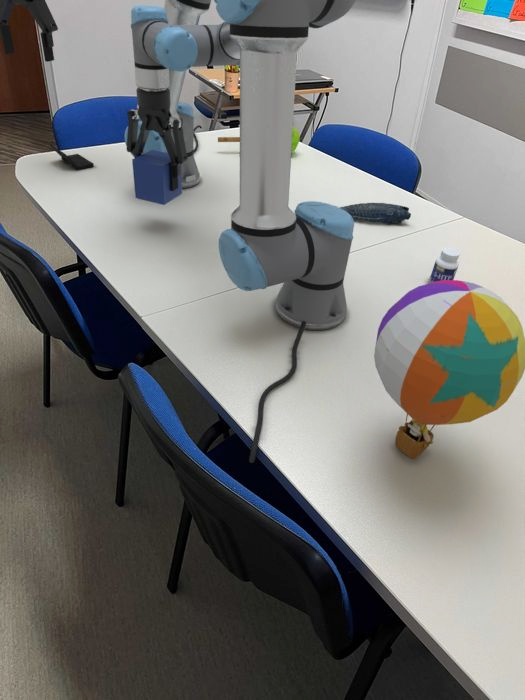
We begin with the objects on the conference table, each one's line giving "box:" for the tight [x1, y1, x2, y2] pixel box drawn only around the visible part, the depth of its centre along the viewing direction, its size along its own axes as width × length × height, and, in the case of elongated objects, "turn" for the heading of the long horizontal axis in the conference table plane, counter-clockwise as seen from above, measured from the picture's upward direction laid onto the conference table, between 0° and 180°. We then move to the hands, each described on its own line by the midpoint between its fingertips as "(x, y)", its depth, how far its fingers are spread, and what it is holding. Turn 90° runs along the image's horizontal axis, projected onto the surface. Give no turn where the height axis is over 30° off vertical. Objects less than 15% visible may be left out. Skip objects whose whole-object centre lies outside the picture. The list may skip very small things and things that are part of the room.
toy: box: [373, 279, 525, 460], centre depth 74 cm, size 20×20×30 cm
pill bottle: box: [428, 247, 461, 284], centre depth 123 cm, size 5×5×9 cm
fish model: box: [339, 202, 412, 225], centre depth 150 cm, size 7×21×5 cm, turn 84°
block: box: [131, 150, 183, 206], centre depth 130 cm, size 8×9×10 cm
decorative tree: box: [217, 126, 301, 153], centre depth 187 cm, size 18×10×30 cm
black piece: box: [49, 143, 95, 171], centre depth 167 cm, size 12×7×10 cm
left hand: (29, 57), depth 142 cm, fingers open, 13 cm apart
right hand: (158, 185), depth 131 cm, fingers closed on block, 8 cm apart
